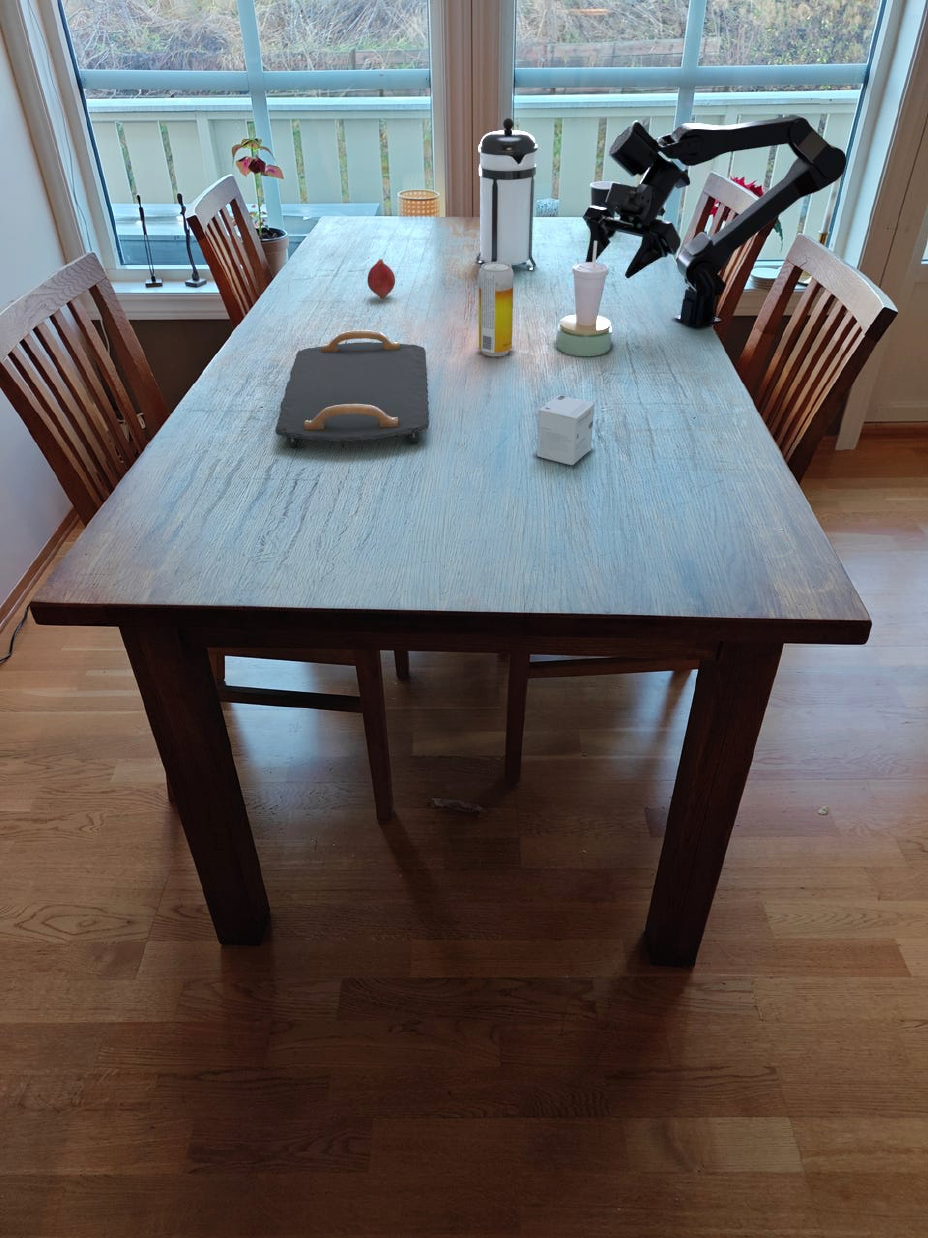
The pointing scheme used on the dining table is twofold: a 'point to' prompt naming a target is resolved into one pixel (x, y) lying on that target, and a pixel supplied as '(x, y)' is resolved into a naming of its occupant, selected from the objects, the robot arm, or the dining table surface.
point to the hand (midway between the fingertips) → (606, 271)
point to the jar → (584, 337)
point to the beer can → (495, 308)
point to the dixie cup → (602, 195)
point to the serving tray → (356, 391)
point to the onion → (381, 279)
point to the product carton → (565, 429)
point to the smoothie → (588, 289)
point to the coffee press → (507, 196)
